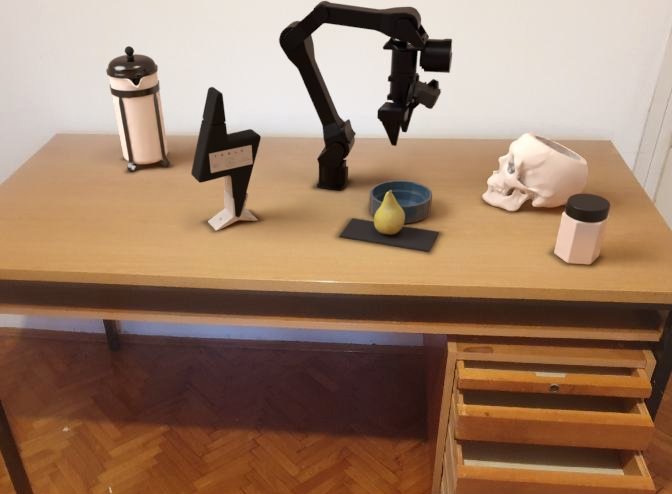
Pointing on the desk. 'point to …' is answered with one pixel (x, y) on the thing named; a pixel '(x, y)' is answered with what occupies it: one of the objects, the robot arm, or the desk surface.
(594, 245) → the jar
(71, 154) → the desk surface
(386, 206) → the fruit
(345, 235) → the place mat
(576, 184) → the skull planter
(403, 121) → the robot arm
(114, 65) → the coffee press
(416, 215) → the bowl
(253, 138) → the award
